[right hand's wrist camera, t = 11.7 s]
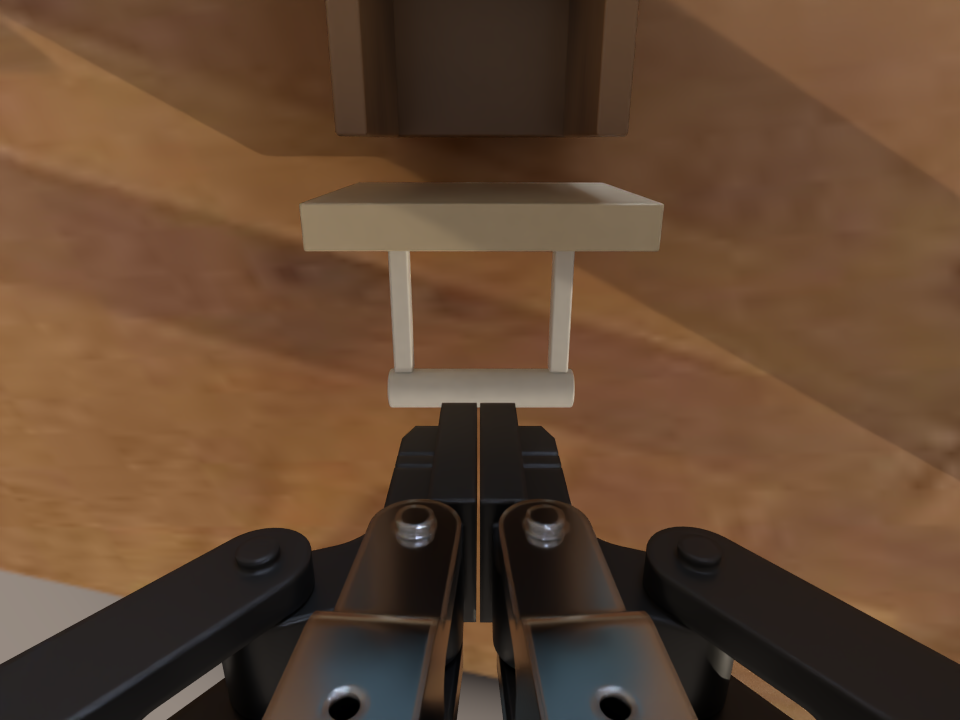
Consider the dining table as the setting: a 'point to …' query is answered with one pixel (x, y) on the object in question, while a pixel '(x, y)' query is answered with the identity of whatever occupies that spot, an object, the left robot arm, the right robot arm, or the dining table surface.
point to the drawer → (481, 113)
